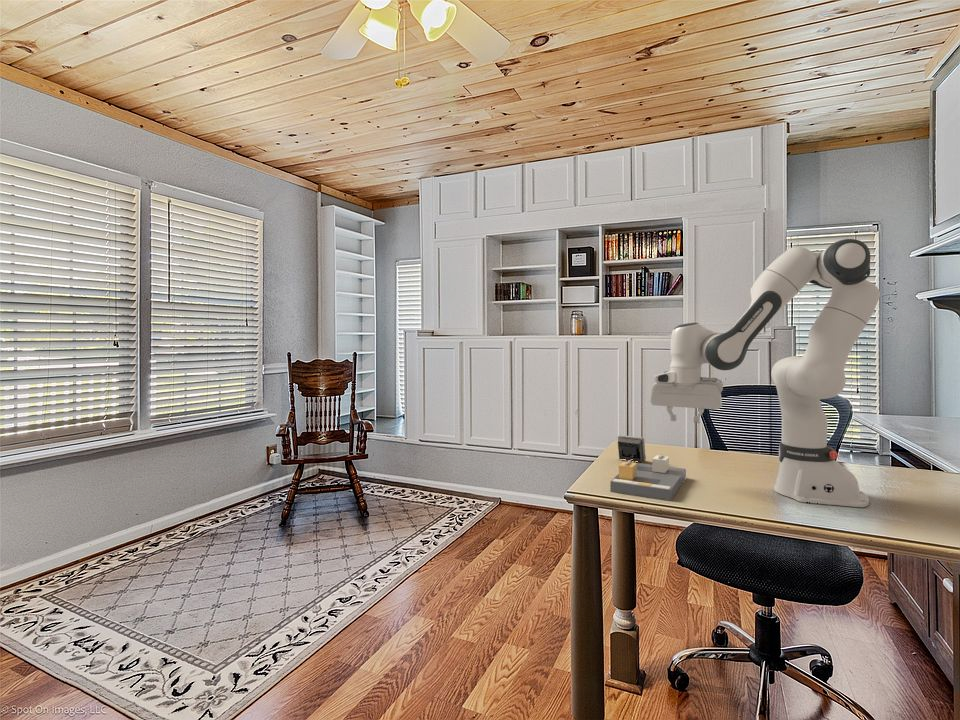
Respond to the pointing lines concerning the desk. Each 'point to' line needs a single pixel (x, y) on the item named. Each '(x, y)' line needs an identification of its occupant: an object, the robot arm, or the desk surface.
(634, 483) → the switch unit
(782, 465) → the robot arm
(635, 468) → the amber slider
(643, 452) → the grey hollow box
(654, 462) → the ivory slider
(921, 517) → the desk surface
